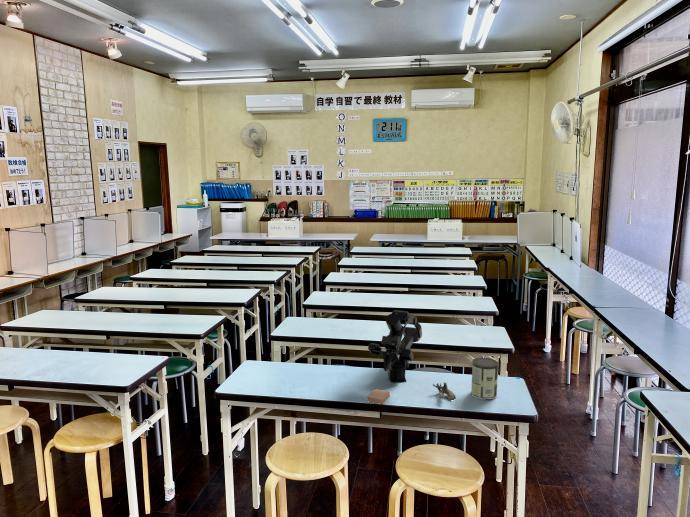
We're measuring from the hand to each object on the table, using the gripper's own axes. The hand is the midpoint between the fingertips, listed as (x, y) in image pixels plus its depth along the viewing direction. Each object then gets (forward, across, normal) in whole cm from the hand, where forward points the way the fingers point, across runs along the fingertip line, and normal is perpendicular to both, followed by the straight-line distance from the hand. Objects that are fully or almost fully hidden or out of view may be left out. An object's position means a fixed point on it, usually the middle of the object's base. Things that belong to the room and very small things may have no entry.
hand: (385, 370), depth 209 cm
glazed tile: (+8, 0, +5) cm, 9 cm away
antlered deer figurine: (+2, +23, +12) cm, 26 cm away
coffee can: (-5, +37, +18) cm, 42 cm away
